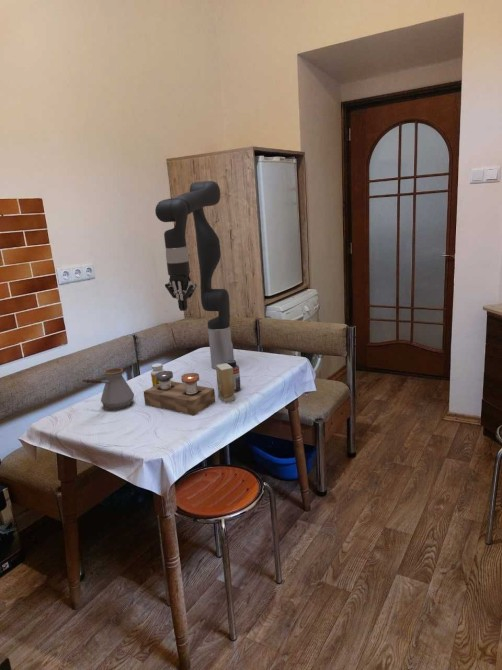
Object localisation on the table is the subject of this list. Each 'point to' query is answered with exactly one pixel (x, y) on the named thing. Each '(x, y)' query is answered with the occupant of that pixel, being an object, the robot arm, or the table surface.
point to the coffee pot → (114, 389)
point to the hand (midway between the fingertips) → (183, 310)
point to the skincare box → (225, 382)
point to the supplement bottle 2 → (235, 374)
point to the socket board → (179, 398)
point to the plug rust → (190, 383)
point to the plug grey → (164, 379)
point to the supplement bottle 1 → (155, 370)
